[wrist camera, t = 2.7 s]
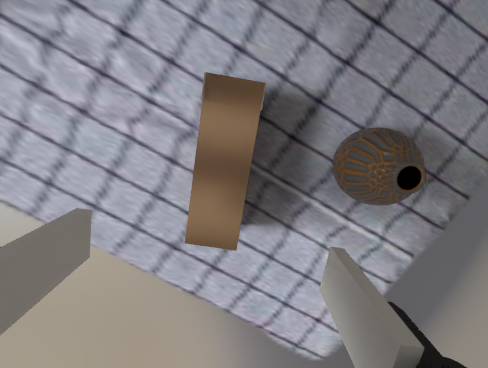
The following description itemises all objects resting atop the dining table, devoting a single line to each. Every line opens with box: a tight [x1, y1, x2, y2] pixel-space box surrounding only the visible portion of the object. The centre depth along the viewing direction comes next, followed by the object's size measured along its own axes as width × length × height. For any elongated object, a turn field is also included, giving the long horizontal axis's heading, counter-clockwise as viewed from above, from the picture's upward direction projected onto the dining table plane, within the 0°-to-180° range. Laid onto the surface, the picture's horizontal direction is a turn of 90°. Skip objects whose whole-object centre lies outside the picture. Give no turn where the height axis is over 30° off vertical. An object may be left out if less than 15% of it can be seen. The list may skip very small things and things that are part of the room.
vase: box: [333, 128, 426, 205], centre depth 23 cm, size 7×7×9 cm
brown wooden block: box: [185, 72, 267, 250], centre depth 24 cm, size 14×5×6 cm, turn 171°
